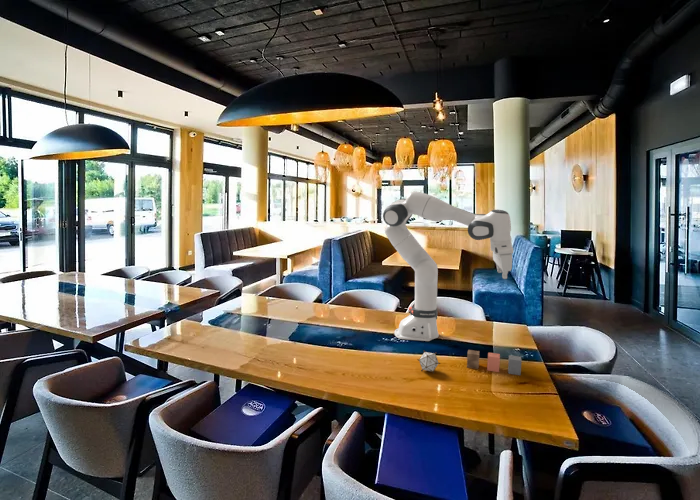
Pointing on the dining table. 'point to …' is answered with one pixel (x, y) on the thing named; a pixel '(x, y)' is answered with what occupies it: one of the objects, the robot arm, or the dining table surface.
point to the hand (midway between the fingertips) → (502, 275)
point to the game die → (428, 361)
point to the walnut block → (473, 359)
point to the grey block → (514, 365)
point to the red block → (493, 362)
